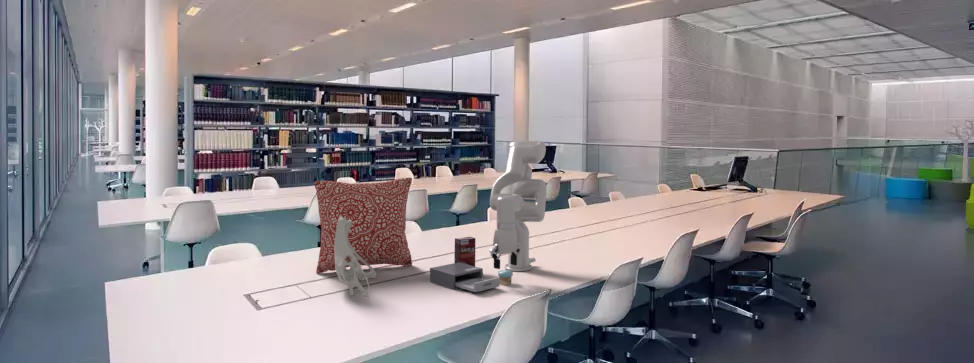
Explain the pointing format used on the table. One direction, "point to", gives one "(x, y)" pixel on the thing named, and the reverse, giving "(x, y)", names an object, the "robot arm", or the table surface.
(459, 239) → the supplement box
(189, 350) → the table surface
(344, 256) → the sculpture
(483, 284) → the tray
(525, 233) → the robot arm
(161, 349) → the table surface
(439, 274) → the box
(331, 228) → the pillow
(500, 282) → the tan cube
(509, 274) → the dome with round knob
